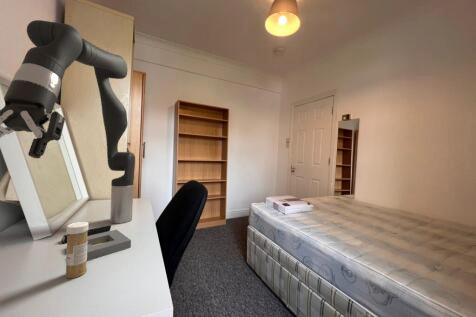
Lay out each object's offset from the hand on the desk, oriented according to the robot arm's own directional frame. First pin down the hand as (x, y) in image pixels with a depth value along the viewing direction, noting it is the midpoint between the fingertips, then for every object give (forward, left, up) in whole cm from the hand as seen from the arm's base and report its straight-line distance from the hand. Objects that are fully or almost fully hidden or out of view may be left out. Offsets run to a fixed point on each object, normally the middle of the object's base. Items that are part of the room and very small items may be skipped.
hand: (9, 156), depth 40 cm
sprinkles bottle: (-6, +12, -32) cm, 34 cm away
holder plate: (-19, +21, -31) cm, 42 cm away
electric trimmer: (-32, +20, -32) cm, 50 cm away
